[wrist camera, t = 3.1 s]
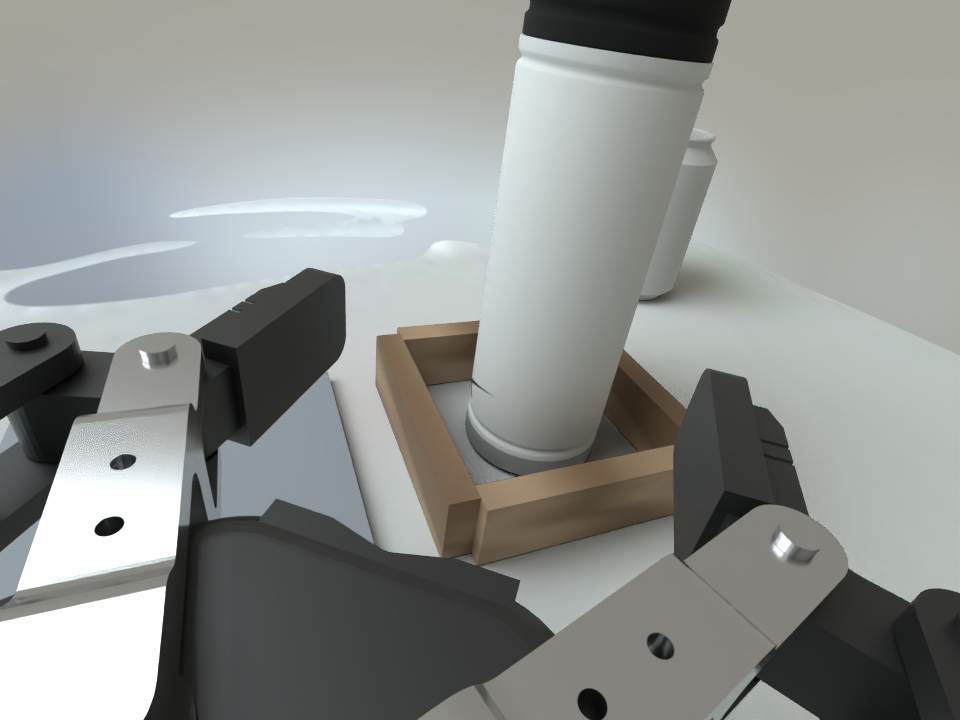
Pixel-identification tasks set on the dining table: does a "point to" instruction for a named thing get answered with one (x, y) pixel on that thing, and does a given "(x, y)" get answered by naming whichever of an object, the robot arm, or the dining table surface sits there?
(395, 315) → the dining table surface
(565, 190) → the travel mug
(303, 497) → the rubber mat
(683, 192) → the can
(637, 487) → the frame
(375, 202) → the dining table surface
